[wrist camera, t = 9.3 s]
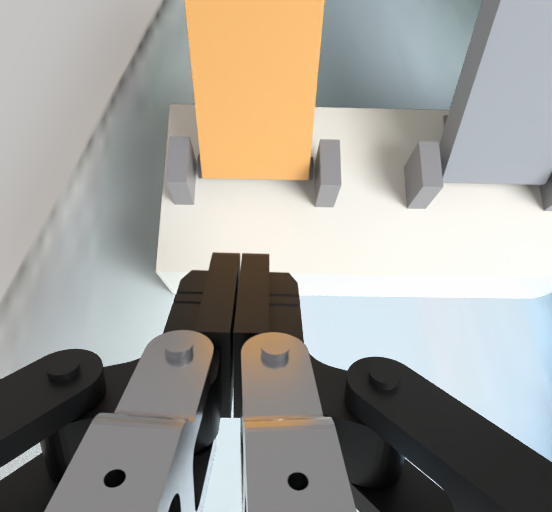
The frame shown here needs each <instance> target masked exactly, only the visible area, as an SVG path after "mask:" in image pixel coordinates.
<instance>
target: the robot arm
mask: <svg viewBox="0 0 552 512" xmlns="http://www.w3.org/2000/svg"><path fill="white" fill-rule="evenodd" d="M233 388H234V418H241V433H240V453H241V492H242V512H356V509H357V510H358V511H359V512H552V462H551V461H549V460H548V459H546V458H545V457H543V456H542V455H540V454H539V453H537V452H536V451H534V450H532V449H531V448H529V447H528V446H526V445H525V444H523V443H522V442H520V441H519V440H517V439H516V438H514V437H513V436H511V435H510V434H508V433H507V432H505V431H504V430H502V429H501V428H499V427H498V426H496V425H495V424H493V423H492V422H490V421H489V420H487V419H486V418H484V417H483V416H481V415H480V414H478V413H477V412H475V411H473V410H472V409H470V408H469V407H467V406H466V405H464V404H463V403H461V402H460V401H458V400H457V399H455V398H454V397H452V396H451V395H449V394H448V393H446V392H445V391H443V390H442V389H440V388H439V387H437V386H436V385H434V384H433V383H431V382H430V381H428V380H427V379H425V378H424V377H422V376H421V375H419V374H418V373H416V372H414V371H413V370H411V369H410V368H408V367H407V366H405V365H404V364H402V363H400V362H398V361H395V360H392V359H389V358H384V357H367V358H363V359H360V360H358V361H356V362H354V363H353V364H352V365H351V366H350V368H349V369H348V371H346V370H342V369H338V368H334V367H331V366H328V365H325V364H323V363H321V362H319V361H318V360H316V359H315V358H313V357H312V356H311V355H310V354H309V351H308V349H307V347H306V345H305V344H304V340H303V330H302V320H301V310H300V300H299V290H298V283H297V281H296V280H295V279H294V278H293V277H292V276H291V274H290V273H287V272H269V254H258V253H242V260H241V269H240V253H220V252H213V253H212V257H211V261H210V265H209V270H191V271H190V272H189V273H188V274H187V275H186V276H184V277H183V278H182V279H181V280H180V283H179V286H178V289H177V294H176V295H175V298H174V303H173V305H172V308H171V311H170V314H169V317H168V320H167V323H166V326H165V329H164V332H163V334H162V335H159V336H157V337H156V338H154V339H153V340H152V341H150V343H149V344H148V345H147V346H146V348H145V350H144V352H143V354H142V356H141V358H139V359H137V360H134V361H131V362H127V363H122V364H117V365H112V366H107V367H103V364H102V360H101V359H100V357H99V356H98V355H97V354H95V353H93V352H91V351H88V350H83V349H68V350H62V351H58V352H55V353H52V354H49V355H47V356H45V357H43V358H41V359H39V360H37V361H35V362H33V363H31V364H29V365H27V366H25V367H23V368H22V369H20V370H18V371H16V372H14V373H12V374H10V375H8V376H6V377H4V378H2V379H0V468H1V467H2V466H4V465H5V464H7V463H8V462H10V461H11V460H13V459H14V458H16V457H18V456H19V455H21V454H22V453H24V452H25V451H27V450H28V449H30V448H31V447H33V446H35V445H36V444H38V443H39V442H40V445H41V449H42V453H41V454H40V455H38V456H37V457H35V458H34V459H32V460H31V461H29V462H28V463H26V464H25V465H23V466H22V467H20V468H19V469H17V470H16V471H14V472H13V473H11V474H10V475H8V476H7V477H5V478H4V479H2V480H1V481H0V512H202V511H203V506H204V502H205V497H206V493H207V488H208V483H209V479H210V474H211V469H212V465H213V460H214V455H215V451H216V436H217V434H218V430H219V423H220V418H231V409H232V399H233ZM405 457H406V458H407V459H408V460H409V461H410V462H412V463H413V464H414V465H415V466H417V467H418V468H419V469H420V470H421V471H423V472H424V473H425V474H426V475H427V476H429V477H430V478H431V479H432V480H434V481H435V482H436V483H437V484H438V485H440V486H441V487H442V488H443V489H444V490H443V489H441V488H440V487H439V486H438V485H437V484H435V483H434V482H433V481H432V480H430V479H429V478H428V477H427V476H426V475H424V474H423V473H422V472H421V471H420V470H418V469H417V468H416V467H415V466H413V465H412V464H411V463H410V462H409V461H407V460H406V459H405Z"/></svg>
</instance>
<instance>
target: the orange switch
mask: <svg viewBox="0 0 552 512" xmlns="http://www.w3.org/2000/svg"><path fill="white" fill-rule="evenodd" d="M324 4H325V0H185V9H186V19H187V29H188V40H189V50H190V60H191V70H192V80H193V90H194V100H195V110H196V120H197V130H198V141H199V151H200V154H198V160H197V171H198V178H211V179H265V180H312V179H313V169H314V161H313V156H311V146H312V135H313V124H314V113H315V102H316V91H317V80H318V70H319V59H320V48H321V37H322V26H323V15H324Z"/></svg>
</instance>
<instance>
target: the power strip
mask: <svg viewBox="0 0 552 512" xmlns="http://www.w3.org/2000/svg"><path fill="white" fill-rule="evenodd" d="M448 114H449V110H421V109H376V108H331V107H315V113H314V124H313V135H312V146H311V156H313V161H314V169H313V179H312V180H265V179H211V178H198V171H197V160H198V154H200V151H199V141H198V130H197V120H196V110H195V104H170V108H169V120H168V132H167V144H166V156H165V167H164V179H163V191H162V203H161V215H160V227H159V239H158V250H157V262H156V273H157V274H158V275H159V277H160V278H161V279H162V281H163V282H164V283H165V284H166V286H167V287H168V288H169V290H170V291H171V292H172V293H173V294H177V289H178V286H179V283H180V280H181V279H182V278H183V277H184V276H186V275H187V274H188V273H189V272H190V271H191V270H209V265H210V261H211V257H212V253H213V252H220V253H240V269H241V260H242V253H258V254H269V272H287V273H290V274H291V276H292V277H293V278H294V279H295V280H296V281H297V283H298V290H299V295H304V296H380V297H456V298H532V299H537V298H539V297H542V296H544V295H547V294H549V293H552V172H551V175H550V179H549V181H548V182H547V183H546V184H545V185H524V184H470V183H443V178H442V168H441V158H440V149H439V144H440V140H441V137H442V134H443V130H444V127H445V124H446V120H447V117H448Z"/></svg>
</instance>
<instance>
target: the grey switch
mask: <svg viewBox="0 0 552 512" xmlns="http://www.w3.org/2000/svg"><path fill="white" fill-rule="evenodd" d="M439 149H440V158H441V168H442V178H443V183H470V184H524V185H545V184H546V183H547V182H548V181H549V179H550V175H551V172H552V0H483V1H482V4H481V7H480V11H479V14H478V17H477V21H476V24H475V27H474V31H473V34H472V37H471V41H470V44H469V47H468V51H467V54H466V57H465V61H464V64H463V67H462V70H461V74H460V77H459V80H458V84H457V87H456V90H455V94H454V97H453V100H452V104H451V107H450V110H449V114H448V117H447V120H446V124H445V127H444V130H443V134H442V137H441V140H440V144H439Z"/></svg>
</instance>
